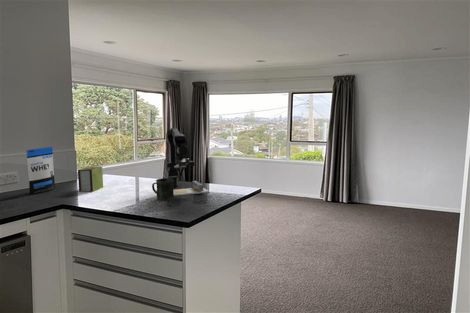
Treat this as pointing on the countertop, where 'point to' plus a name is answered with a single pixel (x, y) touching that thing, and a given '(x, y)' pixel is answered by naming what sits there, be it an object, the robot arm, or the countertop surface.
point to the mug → (164, 189)
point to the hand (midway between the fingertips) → (180, 177)
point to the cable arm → (197, 185)
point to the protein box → (90, 179)
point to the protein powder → (40, 170)
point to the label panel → (188, 191)
